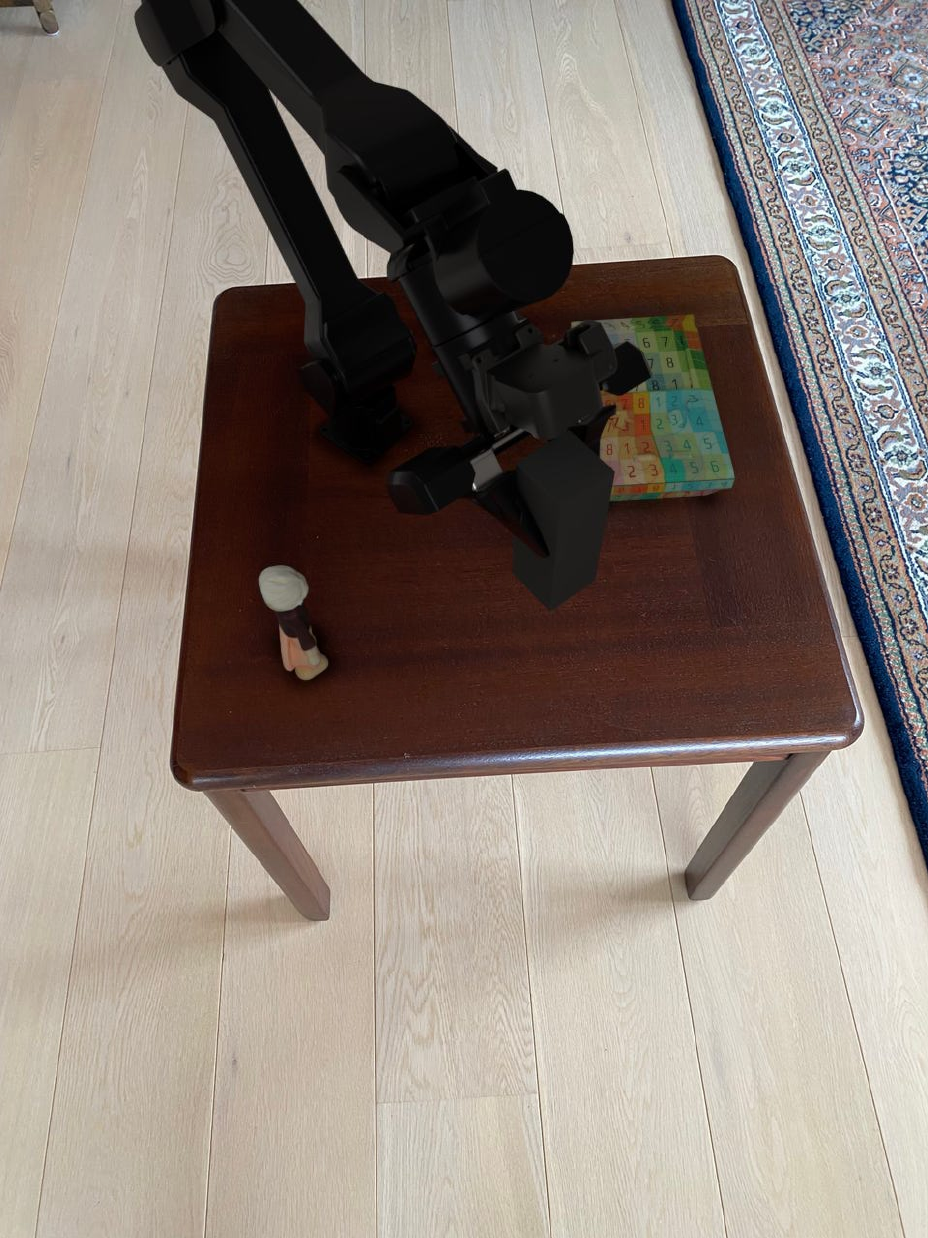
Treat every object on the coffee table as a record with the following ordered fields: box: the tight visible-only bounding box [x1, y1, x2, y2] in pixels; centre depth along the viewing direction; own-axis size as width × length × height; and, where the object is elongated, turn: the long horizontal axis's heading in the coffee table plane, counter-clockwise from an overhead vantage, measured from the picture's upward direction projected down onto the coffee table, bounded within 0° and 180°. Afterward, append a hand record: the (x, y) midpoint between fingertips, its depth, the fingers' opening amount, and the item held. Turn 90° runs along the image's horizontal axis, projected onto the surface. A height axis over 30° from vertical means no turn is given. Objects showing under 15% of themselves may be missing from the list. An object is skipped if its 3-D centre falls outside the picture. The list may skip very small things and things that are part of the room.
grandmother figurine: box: [258, 564, 329, 681], centre depth 70 cm, size 8×4×13 cm, turn 37°
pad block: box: [511, 430, 615, 613], centre depth 64 cm, size 4×4×13 cm
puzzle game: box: [570, 314, 736, 502], centre depth 84 cm, size 12×5×20 cm
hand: (571, 538), depth 64 cm, fingers closed on pad block, 4 cm apart
